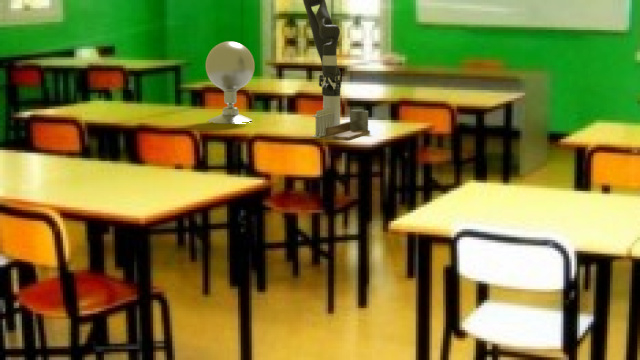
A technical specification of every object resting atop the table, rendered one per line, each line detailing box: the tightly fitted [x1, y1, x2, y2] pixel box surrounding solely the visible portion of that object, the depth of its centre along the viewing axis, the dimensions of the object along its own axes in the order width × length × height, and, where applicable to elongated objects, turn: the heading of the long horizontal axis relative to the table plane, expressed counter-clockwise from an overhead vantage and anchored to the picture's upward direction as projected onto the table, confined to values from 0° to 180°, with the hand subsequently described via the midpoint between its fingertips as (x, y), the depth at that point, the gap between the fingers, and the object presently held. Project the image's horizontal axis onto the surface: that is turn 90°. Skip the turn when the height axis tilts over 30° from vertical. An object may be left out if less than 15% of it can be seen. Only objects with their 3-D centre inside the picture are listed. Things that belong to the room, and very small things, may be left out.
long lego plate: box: [310, 108, 336, 139], centre depth 516 cm, size 25×4×13 cm, turn 159°
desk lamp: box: [205, 41, 256, 124], centre depth 574 cm, size 28×28×45 cm
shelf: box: [325, 109, 371, 141], centre depth 512 cm, size 12×31×12 cm, turn 157°
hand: (329, 95), depth 522 cm, fingers open, 8 cm apart
